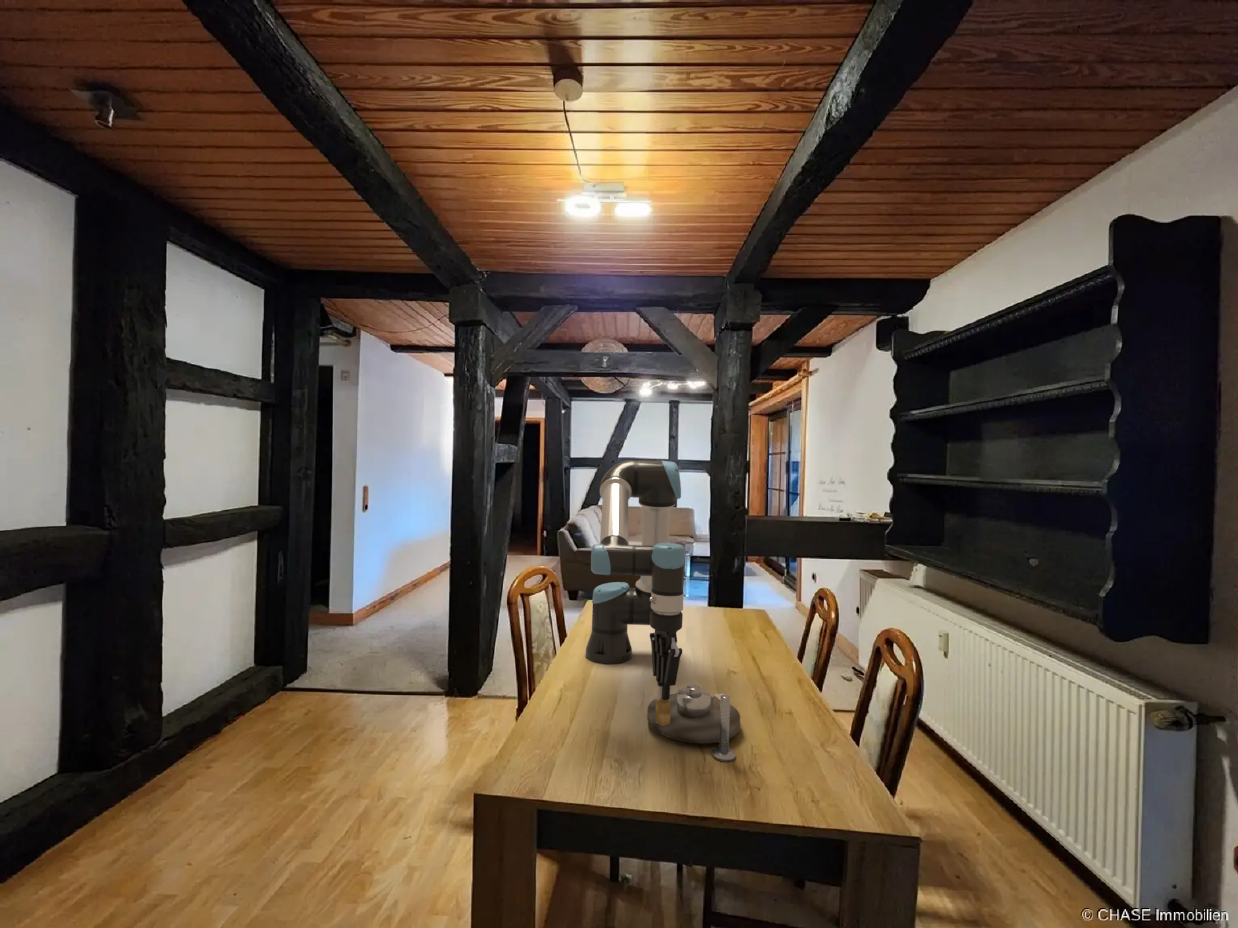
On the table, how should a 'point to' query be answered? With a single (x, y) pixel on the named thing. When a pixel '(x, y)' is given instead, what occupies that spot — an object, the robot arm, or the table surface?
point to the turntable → (689, 722)
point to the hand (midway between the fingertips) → (662, 711)
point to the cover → (693, 702)
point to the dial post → (723, 729)
